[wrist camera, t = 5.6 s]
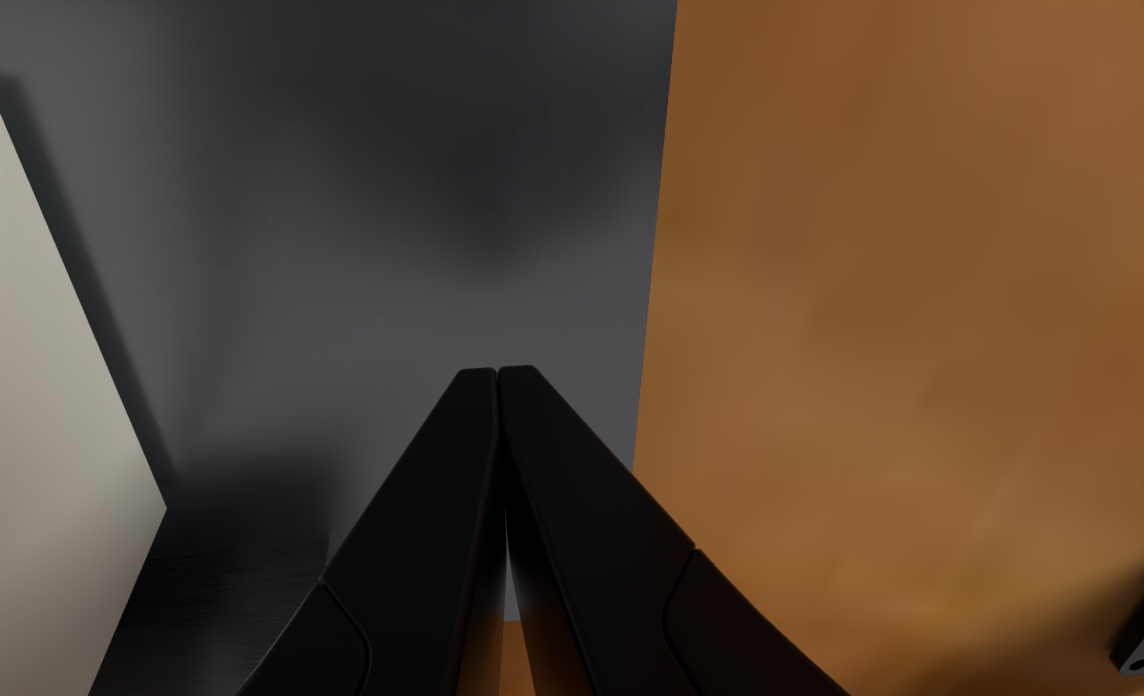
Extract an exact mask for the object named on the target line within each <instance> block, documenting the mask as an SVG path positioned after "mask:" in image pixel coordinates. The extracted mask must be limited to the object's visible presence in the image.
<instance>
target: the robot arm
mask: <svg viewBox="0 0 1144 696" xmlns="http://www.w3.org/2000/svg"><path fill="white" fill-rule="evenodd" d="M497 378H498V380H497ZM505 514H506V516H505ZM506 530H507V537H506ZM507 543H508V553H509V561H510V567H511V573H512V579H513V584H514V589H515V594H516V599H517V604H518V609H519V614H520V619H521V624H522V629H523V634H524V639H525V644H526V649H527V654H528V659H529V664H530V669H531V674H532V679H533V684H534V689H535V694H536V696H851V695H850V694H849V693H848V692H847V691H845V690H844V689H843V688H842V687H841V686H840V685H839V684H838V683H836V682H835V681H834V680H833V679H832V678H831V677H830V676H829V675H827V674H826V673H825V672H824V671H823V670H822V669H821V668H819V667H818V666H817V665H816V664H815V663H814V662H813V661H812V660H810V659H809V658H808V657H807V656H806V655H805V654H804V653H803V652H802V651H801V650H800V649H798V648H797V647H796V646H795V645H794V644H793V643H792V642H791V641H790V640H789V639H788V638H787V637H786V636H785V635H783V634H782V633H781V632H780V631H779V630H778V629H777V628H776V627H775V626H774V625H773V624H772V623H771V622H770V621H768V620H767V619H766V618H765V617H764V616H763V615H762V614H761V613H760V612H759V611H758V610H757V609H756V608H755V607H754V606H753V605H752V604H751V603H750V602H749V601H748V600H747V599H746V598H745V596H744V595H743V594H742V593H741V592H740V591H739V590H738V589H737V588H736V587H735V586H734V585H733V584H732V583H731V582H730V581H729V580H728V579H727V578H726V577H725V576H724V575H723V574H722V572H721V571H720V570H719V569H718V568H717V567H716V566H715V565H714V564H713V562H712V561H711V560H710V559H709V558H708V557H707V556H706V555H705V553H704V552H703V551H702V550H701V549H695V548H696V545H695V543H694V542H693V541H692V540H691V538H690V537H689V536H688V535H687V534H686V533H685V532H684V531H683V530H682V528H681V527H680V526H679V525H678V524H677V523H676V522H675V521H674V520H673V519H672V517H671V516H670V515H669V514H668V513H667V512H666V511H665V510H664V509H663V507H662V506H661V505H660V504H659V503H658V502H657V501H656V500H655V499H654V497H653V496H652V495H651V494H650V493H649V492H648V491H647V490H646V489H645V488H644V486H643V485H642V484H641V483H640V482H639V481H638V480H637V479H636V478H635V476H634V475H633V474H632V473H631V472H630V471H629V470H628V469H627V468H626V467H625V465H624V464H623V463H622V462H621V461H620V460H619V459H618V458H617V457H616V455H615V454H614V453H613V452H612V451H611V450H610V449H609V448H608V447H607V446H606V444H605V443H604V442H603V441H602V440H601V439H600V438H599V437H598V436H597V434H596V433H595V432H594V431H593V430H592V429H591V428H590V427H589V426H588V425H587V423H586V422H585V421H584V420H583V419H582V418H581V417H580V416H579V415H578V413H577V412H576V411H575V410H574V409H573V408H572V407H571V406H570V405H569V404H568V402H567V401H566V400H565V399H564V398H563V397H562V396H561V395H560V394H559V392H558V391H557V390H556V389H555V388H554V387H553V386H552V385H551V384H550V383H549V381H548V380H547V379H546V378H545V377H544V376H543V375H542V374H541V373H540V371H539V370H538V369H537V368H536V367H535V366H532V365H517V366H503V367H501V368H499V370H498V372H496V370H495V369H494V368H492V367H484V368H467V369H461V370H460V371H458V373H457V374H456V375H455V377H454V378H453V380H452V381H451V383H450V384H449V386H448V387H447V389H446V390H445V392H444V393H443V395H442V396H441V398H440V399H439V401H438V402H437V404H436V405H435V406H434V408H433V409H432V411H431V412H430V414H429V415H428V417H427V418H426V420H425V421H424V423H423V424H422V426H421V427H420V429H419V430H418V432H417V433H416V435H415V436H414V438H413V439H412V441H411V442H410V443H409V445H408V446H407V448H406V449H405V451H404V452H403V454H402V455H401V457H400V458H399V460H398V461H397V463H396V464H395V466H394V467H393V469H392V470H391V472H390V473H389V475H388V476H387V478H386V479H385V480H384V482H383V483H382V485H381V486H380V488H379V489H378V491H377V492H376V494H375V495H374V497H373V498H372V500H371V501H370V503H369V504H368V506H367V507H366V509H365V510H364V512H363V513H362V515H361V516H360V517H359V519H358V520H357V522H356V523H355V525H354V526H353V528H352V529H351V531H350V532H349V534H348V535H347V537H346V538H345V540H344V541H343V543H342V544H341V546H340V547H339V549H338V550H337V552H336V553H335V555H334V556H333V557H332V559H331V560H330V562H329V563H328V565H327V566H326V568H325V569H324V571H323V572H322V574H321V575H320V577H319V579H318V581H319V583H317V584H314V585H313V586H312V588H311V589H310V591H309V592H308V594H307V595H306V597H305V598H304V600H303V601H302V603H301V604H300V606H299V607H298V609H297V610H296V612H295V613H294V615H293V616H292V618H291V619H290V620H289V622H288V623H287V625H286V626H285V627H284V629H283V630H282V632H281V633H280V634H279V636H278V637H277V638H276V640H275V641H274V643H273V644H272V645H271V647H270V648H269V650H268V651H267V652H266V654H265V655H264V656H263V658H262V659H261V661H260V662H259V663H258V665H257V666H256V667H255V669H254V670H253V671H252V672H251V674H250V675H249V676H248V677H247V678H246V680H245V681H244V682H243V683H242V685H241V686H240V687H239V688H238V690H237V691H236V692H235V693H234V695H233V696H499V683H500V668H501V653H502V638H503V623H504V608H505V593H506V577H507ZM1109 660H1110V661H1111V663H1112V664H1113V665H1114V666H1115V668H1116V669H1117V670H1118V671H1119V673H1120V674H1122V675H1124V676H1131V675H1139V674H1144V610H1143V611H1142V612H1141V614H1140V615H1139V616H1138V618H1137V619H1136V620H1135V622H1134V623H1133V624H1132V625H1131V627H1130V628H1129V629H1128V631H1127V632H1126V633H1125V635H1124V636H1123V637H1122V639H1121V640H1120V641H1119V643H1118V644H1117V645H1116V647H1115V648H1114V649H1113V650H1112V652H1111V653H1110V655H1109Z"/></svg>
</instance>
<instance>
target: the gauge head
mask: <svg viewBox="0 0 1144 696" xmlns="http://www.w3.org/2000/svg"><path fill="white" fill-rule="evenodd" d="M166 509H167V507H166V505H165V503H164V500H163V498H162V496H161V493H160V491H159V489H158V486H157V484H156V481H155V479H154V477H153V474H152V472H151V470H150V467H149V465H148V463H147V460H146V458H145V455H144V453H143V451H142V448H141V446H140V444H139V441H138V439H137V437H136V434H135V432H134V429H133V427H132V425H131V422H130V420H129V418H128V415H127V413H126V410H125V408H124V406H123V403H122V401H121V399H120V396H119V394H118V392H117V389H116V387H115V384H114V382H113V380H112V377H111V375H110V373H109V370H108V368H107V366H106V363H105V361H104V358H103V356H102V354H101V351H100V349H99V347H98V344H97V342H96V340H95V337H94V335H93V332H92V330H91V328H90V325H89V323H88V321H87V318H86V316H85V314H84V311H83V309H82V306H81V304H80V302H79V299H78V297H77V295H76V292H75V290H74V288H73V285H72V283H71V280H70V278H69V276H68V273H67V271H66V269H65V266H64V264H63V262H62V259H61V257H60V254H59V252H58V250H57V247H56V245H55V243H54V240H53V238H52V236H51V233H50V231H49V228H48V226H47V224H46V221H45V219H44V217H43V214H42V212H41V209H40V207H39V205H38V202H37V200H36V198H35V195H34V193H33V191H32V188H31V186H30V183H29V181H28V179H27V176H26V174H25V172H24V169H23V167H22V165H21V162H20V160H19V157H18V155H17V153H16V150H15V148H14V146H13V143H12V141H11V139H10V136H9V134H8V131H7V129H6V127H5V124H4V122H3V120H2V117H1V115H0V696H88V694H89V691H90V689H91V687H92V684H93V682H94V680H95V677H96V675H97V672H98V670H99V668H100V665H101V663H102V661H103V658H104V656H105V654H106V651H107V649H108V646H109V644H110V642H111V639H112V637H113V635H114V632H115V630H116V628H117V625H118V623H119V620H120V618H121V616H122V613H123V611H124V609H125V606H126V604H127V602H128V599H129V597H130V594H131V592H132V590H133V587H134V585H135V583H136V580H137V578H138V576H139V573H140V571H141V568H142V566H143V564H144V561H145V559H146V557H147V554H148V552H149V550H150V547H151V545H152V542H153V540H154V538H155V535H156V533H157V531H158V528H159V526H160V524H161V521H162V519H163V516H164V514H165V512H166Z"/></svg>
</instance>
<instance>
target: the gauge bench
mask: <svg viewBox="0 0 1144 696" xmlns="http://www.w3.org/2000/svg"><path fill="white" fill-rule="evenodd" d="M676 11H677V0H0V115H1V117H2V120H3V122H4V124H5V127H6V129H7V131H8V134H9V136H10V139H11V141H12V143H13V146H14V148H15V150H16V153H17V155H18V157H19V160H20V162H21V165H22V167H23V169H24V172H25V174H26V176H27V179H28V181H29V183H30V186H31V188H32V191H33V193H34V195H35V198H36V200H37V202H38V205H39V207H40V209H41V212H42V214H43V217H44V219H45V221H46V224H47V226H48V228H49V231H50V233H51V236H52V238H53V240H54V243H55V245H56V247H57V250H58V252H59V254H60V257H61V259H62V262H63V264H64V266H65V269H66V271H67V273H68V276H69V278H70V280H71V283H72V285H73V288H74V290H75V292H76V295H77V297H78V299H79V302H80V304H81V306H82V309H83V311H84V314H85V316H86V318H87V321H88V323H89V325H90V328H91V330H92V332H93V335H94V337H95V340H96V342H97V344H98V347H99V349H100V351H101V354H102V356H103V358H104V361H105V363H106V366H107V368H108V370H109V373H110V375H111V377H112V380H113V382H114V384H115V387H116V389H117V392H118V394H119V396H120V399H121V401H122V403H123V406H124V408H125V410H126V413H127V415H128V418H129V420H130V422H131V425H132V427H133V429H134V432H135V434H136V437H137V439H138V441H139V444H140V446H141V448H142V451H143V453H144V455H145V458H146V460H147V463H148V465H149V467H150V470H151V472H152V474H153V477H154V479H155V481H156V484H157V486H158V489H159V491H160V493H161V496H162V498H163V500H164V503H165V505H166V507H167V509H166V512H165V514H164V516H163V519H162V521H161V524H160V526H159V528H158V531H157V533H156V535H155V538H154V540H153V542H152V545H151V547H150V550H149V552H148V554H147V557H146V559H145V561H144V564H143V566H142V568H141V571H140V573H139V576H138V578H137V580H136V583H135V585H134V587H133V590H132V592H131V594H130V597H129V599H128V602H127V604H126V606H125V609H124V611H123V613H122V616H121V618H120V620H119V623H118V625H117V628H116V630H115V632H114V635H113V637H112V639H111V642H110V644H109V646H108V649H107V651H106V654H105V656H104V658H103V661H102V663H101V665H100V668H99V670H98V672H97V675H96V677H95V680H94V682H93V684H92V687H91V689H90V691H89V694H88V696H233V695H234V693H235V692H236V691H237V690H238V688H239V687H240V686H241V685H242V683H243V682H244V681H245V680H246V678H247V677H248V676H249V675H250V674H251V672H252V671H253V670H254V669H255V667H256V666H257V665H258V663H259V662H260V661H261V659H262V658H263V656H264V655H265V654H266V652H267V651H268V650H269V648H270V647H271V645H272V644H273V643H274V641H275V640H276V638H277V637H278V636H279V634H280V633H281V632H282V630H283V629H284V627H285V626H286V625H287V623H288V622H289V620H290V619H291V618H292V616H293V615H294V613H295V612H296V610H297V609H298V607H299V606H300V604H301V603H302V601H303V600H304V598H305V597H306V595H307V594H308V592H309V591H310V589H311V588H312V586H313V585H314V584H317V583H319V581H318V579H319V577H320V575H321V574H322V572H323V571H324V569H325V568H326V566H327V565H328V563H329V562H330V560H331V559H332V557H333V556H334V555H335V553H336V552H337V550H338V549H339V547H340V546H341V544H342V543H343V541H344V540H345V538H346V537H347V535H348V534H349V532H350V531H351V529H352V528H353V526H354V525H355V523H356V522H357V520H358V519H359V517H360V516H361V515H362V513H363V512H364V510H365V509H366V507H367V506H368V504H369V503H370V501H371V500H372V498H373V497H374V495H375V494H376V492H377V491H378V489H379V488H380V486H381V485H382V483H383V482H384V480H385V479H386V478H387V476H388V475H389V473H390V472H391V470H392V469H393V467H394V466H395V464H396V463H397V461H398V460H399V458H400V457H401V455H402V454H403V452H404V451H405V449H406V448H407V446H408V445H409V443H410V442H411V441H412V439H413V438H414V436H415V435H416V433H417V432H418V430H419V429H420V427H421V426H422V424H423V423H424V421H425V420H426V418H427V417H428V415H429V414H430V412H431V411H432V409H433V408H434V406H435V405H436V404H437V402H438V401H439V399H440V398H441V396H442V395H443V393H444V392H445V390H446V389H447V387H448V386H449V384H450V383H451V381H452V380H453V378H454V377H455V375H456V374H457V373H458V371H460V370H461V369H467V368H484V367H492V368H494V369H495V370H496V372H498V370H499V368H501V367H503V366H517V365H532V366H535V367H536V368H537V369H538V370H539V371H540V373H541V374H542V375H543V376H544V377H545V378H546V379H547V380H548V381H549V383H550V384H551V385H552V386H553V387H554V388H555V389H556V390H557V391H558V392H559V394H560V395H561V396H562V397H563V398H564V399H565V400H566V401H567V402H568V404H569V405H570V406H571V407H572V408H573V409H574V410H575V411H576V412H577V413H578V415H579V416H580V417H581V418H582V419H583V420H584V421H585V422H586V423H587V425H588V426H589V427H590V428H591V429H592V430H593V431H594V432H595V433H596V434H597V436H598V437H599V438H600V439H601V440H602V441H603V442H604V443H605V444H606V446H607V447H608V448H609V449H610V450H611V451H612V452H613V453H614V454H615V455H616V457H617V458H618V459H619V460H620V461H621V462H622V463H623V464H624V465H625V467H626V468H627V469H628V470H629V471H630V472H631V473H632V470H633V459H634V449H635V438H636V428H637V418H638V407H639V397H640V386H641V376H642V365H643V355H644V345H645V334H646V324H647V313H648V303H649V292H650V282H651V271H652V261H653V251H654V240H655V230H656V219H657V209H658V198H659V188H660V178H661V167H662V157H663V146H664V136H665V125H666V115H667V105H668V94H669V84H670V73H671V63H672V52H673V42H674V32H675V21H676ZM497 380H498V378H497ZM505 516H506V514H505ZM506 537H507V530H506ZM518 620H521V619H520V614H519V609H518V604H517V599H516V594H515V589H514V584H513V579H512V573H511V567H510V561H509V553H508V543H507V577H506V593H505V608H504V622H508V621H518Z"/></svg>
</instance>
